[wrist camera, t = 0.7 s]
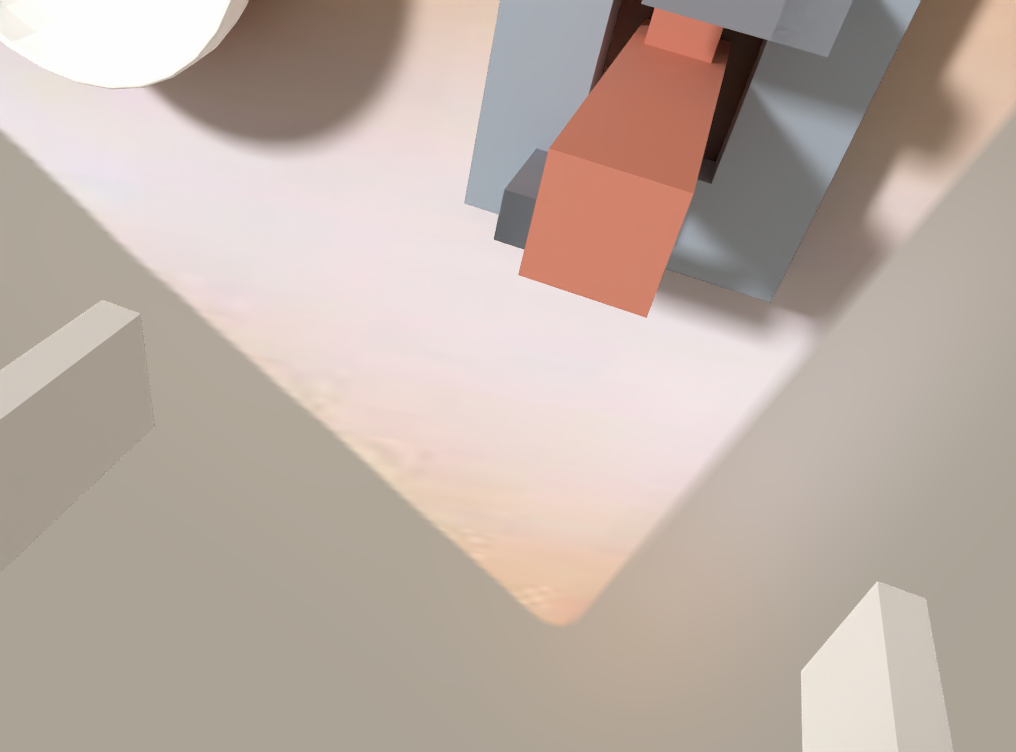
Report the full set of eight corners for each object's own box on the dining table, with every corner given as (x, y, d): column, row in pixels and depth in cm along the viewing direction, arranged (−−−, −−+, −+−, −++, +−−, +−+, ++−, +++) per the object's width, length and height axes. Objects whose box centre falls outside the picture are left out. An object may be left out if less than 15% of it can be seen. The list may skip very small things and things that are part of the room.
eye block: (550, -177, 31) (488, -178, 25) (940, -74, 29) (984, -47, 23) (482, 181, 41) (426, 247, 35) (771, 274, 39) (768, 362, 33)
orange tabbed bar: (673, -78, 32) (585, -5, 18) (766, -52, 31) (751, 43, 17) (599, 177, 39) (494, 372, 25) (674, 201, 39) (610, 412, 25)
